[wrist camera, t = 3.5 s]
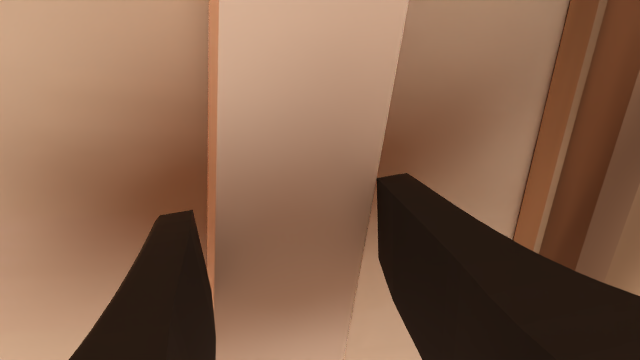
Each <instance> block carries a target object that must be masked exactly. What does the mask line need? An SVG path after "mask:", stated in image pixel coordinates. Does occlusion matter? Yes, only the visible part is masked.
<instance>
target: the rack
mask: <svg viewBox="0 0 640 360" xmlns="http://www.w3.org/2000/svg"><path fill="white" fill-rule="evenodd" d="M513 241H515V242H517V243H519V244H520V245H522V246H524V247H526V248H528V249H530V250H532V251H534V252H536V253H538V254H540V255H542V256H544V257H546V258H548V259H550V260H552V261H554V262H557V263H559V264H561V265H563V266H565V267H568V268H570V269H572V270H574V271H576V272H579V273H581V274H583V275H586V276H588V277H591V278H593V279H595V280H598V281H600V282H603V283H606V284H608V285H611V286H614V287H616V288H619V289H622V290H624V291H627V292H630V293H633V294H635V295H638V296H640V0H571V1H570V6H569V10H568V14H567V18H566V22H565V27H564V31H563V35H562V39H561V43H560V47H559V52H558V56H557V60H556V64H555V68H554V73H553V77H552V81H551V85H550V89H549V93H548V98H547V102H546V106H545V110H544V114H543V119H542V123H541V127H540V131H539V135H538V139H537V144H536V148H535V152H534V156H533V160H532V165H531V169H530V173H529V177H528V181H527V185H526V190H525V194H524V198H523V202H522V206H521V210H520V215H519V219H518V223H517V227H516V231H515V236H514V240H513Z"/></svg>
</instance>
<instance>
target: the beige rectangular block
mask: <svg viewBox="0 0 640 360" xmlns="http://www.w3.org/2000/svg"><path fill="white" fill-rule="evenodd" d="M408 3H409V0H209V56H208V195H207V274H208V278H209V282H210V286H211V291H212V301H213V310H214V320H215V331H216V360H344V356H345V350H346V345H347V339H348V334H349V328H350V323H351V317H352V312H353V306H354V301H355V295H356V290H357V284H358V279H359V273H360V268H361V262H362V257H363V251H364V246H365V240H366V235H367V229H368V224H369V218H370V213H371V207H372V202H373V196H374V191H375V185H376V180H377V174H378V169H379V163H380V158H381V152H382V147H383V141H384V136H385V130H386V124H387V119H388V113H389V108H390V102H391V97H392V91H393V86H394V80H395V75H396V69H397V64H398V58H399V53H400V47H401V42H402V36H403V31H404V25H405V20H406V14H407V9H408Z"/></svg>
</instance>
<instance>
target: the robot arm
mask: <svg viewBox="0 0 640 360" xmlns="http://www.w3.org/2000/svg"><path fill="white" fill-rule="evenodd" d="M377 209H378V257H379V261H380V264H381V267H382V270H383V273H384V276H385V279H386V282H387V285H388V288H389V290H390V293H391V296H392V299H393V301H394V303H395V305H396V308H397V310H398V312H399V314H400V316H401V318H402V320H403V322H404V324H405V326H406V328H407V330H408V332H409V334H410V336H411V338H412V340H413V342H414V344H415V346H416V348H417V350H418V352H419V354H420V356H421V358H422V360H640V296H638V295H635V294H633V293H630V292H627V291H624V290H622V289H619V288H616V287H614V286H611V285H608V284H606V283H603V282H600V281H598V280H595V279H593V278H591V277H588V276H586V275H583V274H581V273H579V272H576V271H574V270H572V269H570V268H568V267H565V266H563V265H561V264H559V263H557V262H554V261H552V260H550V259H548V258H546V257H544V256H542V255H540V254H538V253H536V252H534V251H532V250H530V249H528V248H526V247H524V246H522V245H520V244H519V243H517V242H515V241H513V240H511V239H510V238H508V237H506V236H504V235H502V234H501V233H499V232H497V231H495V230H494V229H492V228H490V227H489V226H487V225H485V224H484V223H482V222H480V221H479V220H477V219H475V218H474V217H472V216H471V215H469V214H468V213H466V212H464V211H463V210H461V209H460V208H458V207H457V206H455V205H454V204H452V203H451V202H449V201H448V200H446V199H445V198H443V197H442V196H440V195H439V194H437V193H436V192H434V191H433V190H431V189H430V188H428V187H427V186H426V185H424V184H423V183H421V182H420V181H418V180H417V179H415V178H414V177H412V176H410V175H409V174H407V173H404V174H399V175H393V176H387V177H381V178H377ZM69 360H216V331H215V320H214V310H213V301H212V291H211V286H210V282H209V278H208V274H207V269H206V265H205V261H204V257H203V252H202V248H201V244H200V240H199V235H198V231H197V227H196V223H195V218H194V214H193V210H189V211H184V212H178V213H172V214H166V215H160V216H159V217H158V219H157V220H156V221H155V223H154V225H153V227H152V229H151V231H150V233H149V235H148V237H147V239H146V241H145V243H144V245H143V247H142V249H141V251H140V253H139V255H138V256H137V258H136V260H135V262H134V264H133V265H132V267H131V269H130V270H129V272H128V274H127V276H126V277H125V279H124V281H123V282H122V284H121V286H120V287H119V289H118V291H117V292H116V294H115V296H114V297H113V299H112V300H111V302H110V303H109V305H108V306H107V308H106V309H105V310H104V312H103V313H102V315H101V316H100V318H99V319H98V321H97V322H96V324H95V325H94V327H93V328H92V330H91V331H90V332H89V334H88V335H87V337H86V338H85V339H84V341H83V342H82V343H81V345H80V346H79V347H78V349H77V350H76V351H75V352H74V354H73V355H72V356H71V357H70V359H69Z"/></svg>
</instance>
